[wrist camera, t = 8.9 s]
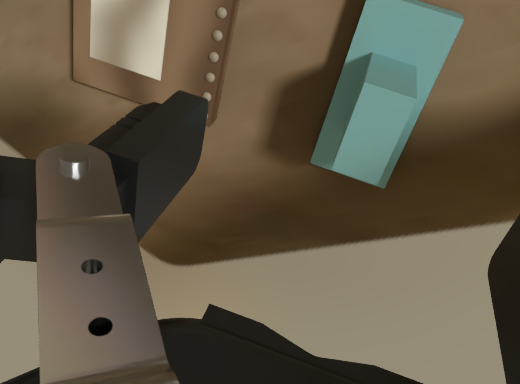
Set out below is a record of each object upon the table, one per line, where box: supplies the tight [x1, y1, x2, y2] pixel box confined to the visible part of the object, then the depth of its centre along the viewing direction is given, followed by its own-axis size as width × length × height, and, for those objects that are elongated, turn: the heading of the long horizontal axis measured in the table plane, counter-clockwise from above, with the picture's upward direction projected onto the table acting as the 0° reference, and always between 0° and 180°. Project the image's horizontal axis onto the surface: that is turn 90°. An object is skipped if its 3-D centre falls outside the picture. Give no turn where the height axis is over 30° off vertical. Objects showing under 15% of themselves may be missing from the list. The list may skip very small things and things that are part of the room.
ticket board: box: [73, 0, 239, 127], centre depth 35 cm, size 12×13×2 cm
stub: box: [310, 0, 464, 189], centre depth 31 cm, size 6×13×8 cm, turn 167°
